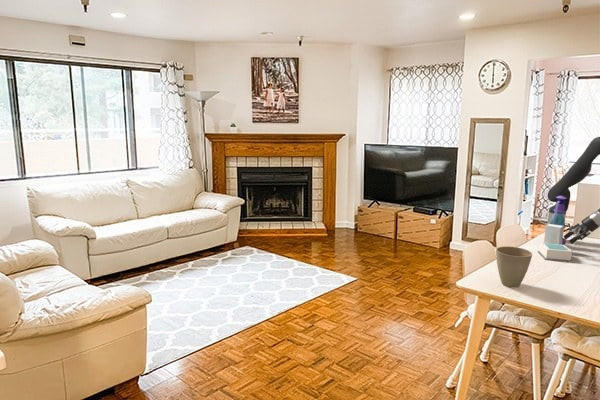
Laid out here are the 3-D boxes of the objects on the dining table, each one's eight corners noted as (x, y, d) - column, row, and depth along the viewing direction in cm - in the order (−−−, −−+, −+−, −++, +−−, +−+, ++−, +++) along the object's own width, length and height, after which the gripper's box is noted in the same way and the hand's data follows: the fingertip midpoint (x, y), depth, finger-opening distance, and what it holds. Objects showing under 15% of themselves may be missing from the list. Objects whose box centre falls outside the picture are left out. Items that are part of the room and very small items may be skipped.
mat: (537, 252, 253) (537, 251, 253) (559, 253, 251) (559, 252, 251) (545, 259, 240) (545, 258, 240) (568, 261, 238) (568, 260, 237)
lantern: (549, 240, 276) (555, 193, 270) (569, 245, 267) (576, 196, 261) (539, 244, 268) (546, 195, 262) (560, 249, 259) (567, 198, 253)
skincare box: (561, 251, 256) (565, 225, 253) (558, 253, 252) (561, 227, 249) (545, 247, 262) (549, 223, 259) (542, 249, 258) (545, 224, 255)
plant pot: (497, 276, 215) (501, 244, 211) (531, 284, 205) (536, 250, 202) (488, 285, 203) (491, 251, 200) (523, 293, 194) (527, 258, 191)
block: (563, 253, 249) (539, 251, 252) (564, 244, 248) (540, 242, 251) (570, 260, 238) (546, 258, 241) (572, 251, 237) (547, 249, 240)
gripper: (584, 212, 244) (558, 231, 249) (594, 219, 231) (567, 238, 235) (593, 223, 244) (567, 241, 249) (604, 229, 231) (576, 249, 236)
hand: (567, 240), depth 242 cm, fingers open, 8 cm apart
